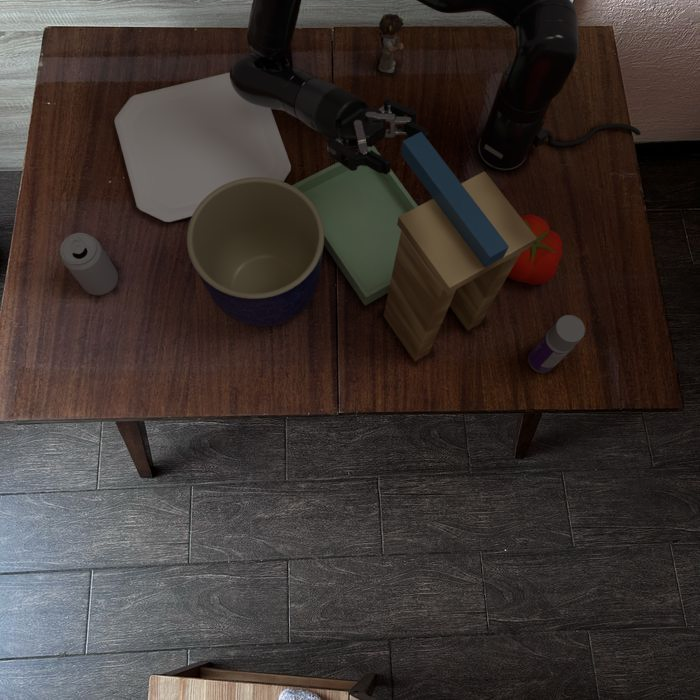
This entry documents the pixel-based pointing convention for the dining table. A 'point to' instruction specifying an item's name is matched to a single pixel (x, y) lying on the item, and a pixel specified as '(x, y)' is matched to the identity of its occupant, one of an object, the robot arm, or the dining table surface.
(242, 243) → the planter
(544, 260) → the tomato
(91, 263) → the beverage can
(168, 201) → the plate
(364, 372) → the dining table surface
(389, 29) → the toy
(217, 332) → the dining table surface
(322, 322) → the dining table surface
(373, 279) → the tray
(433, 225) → the shelf
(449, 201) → the bar
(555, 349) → the container
